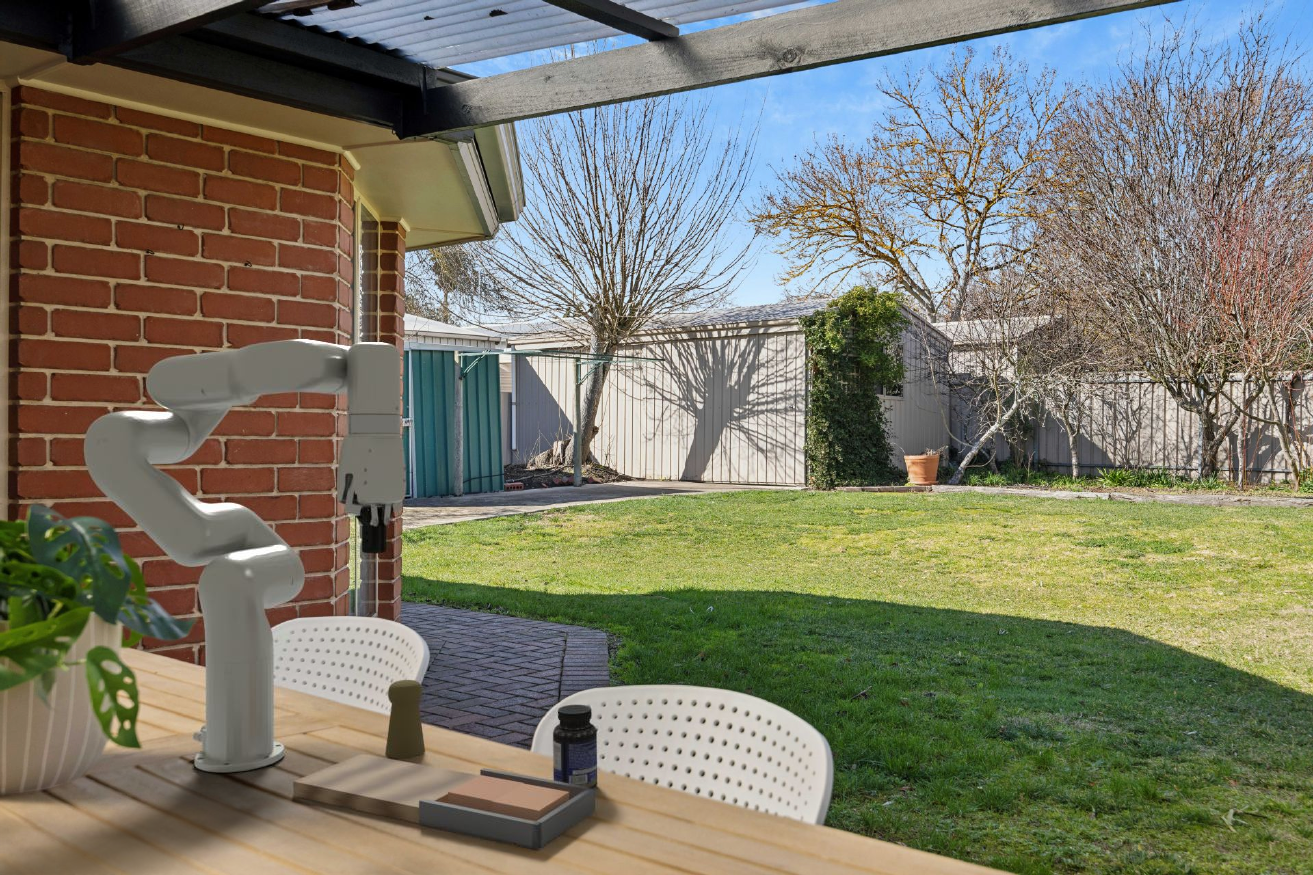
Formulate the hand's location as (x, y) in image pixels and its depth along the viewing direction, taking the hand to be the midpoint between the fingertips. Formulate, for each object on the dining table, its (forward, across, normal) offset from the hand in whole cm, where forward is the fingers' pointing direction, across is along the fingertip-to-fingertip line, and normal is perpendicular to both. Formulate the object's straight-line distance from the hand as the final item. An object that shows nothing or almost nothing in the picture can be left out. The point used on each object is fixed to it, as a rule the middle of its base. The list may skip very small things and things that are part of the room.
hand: (374, 552), depth 143 cm
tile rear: (+32, +6, +24) cm, 41 cm away
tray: (+32, +6, +28) cm, 43 cm away
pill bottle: (+32, -7, +30) cm, 45 cm away
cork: (+32, -9, -2) cm, 34 cm away
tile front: (+32, +6, +31) cm, 45 cm away
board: (+32, +6, +8) cm, 34 cm away
